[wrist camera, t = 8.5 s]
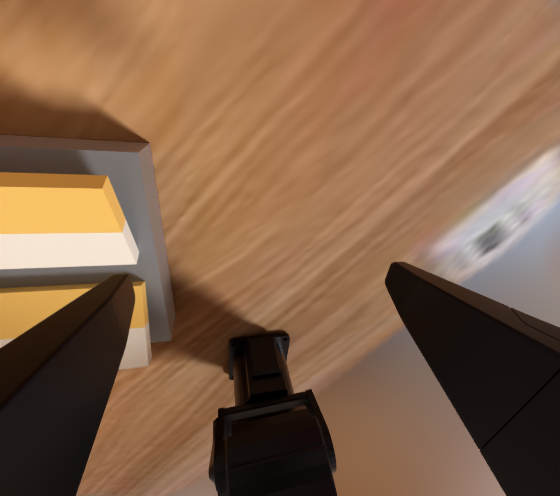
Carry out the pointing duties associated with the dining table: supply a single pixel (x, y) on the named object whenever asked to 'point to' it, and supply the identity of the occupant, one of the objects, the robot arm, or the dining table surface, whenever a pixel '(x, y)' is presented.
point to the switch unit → (133, 201)
